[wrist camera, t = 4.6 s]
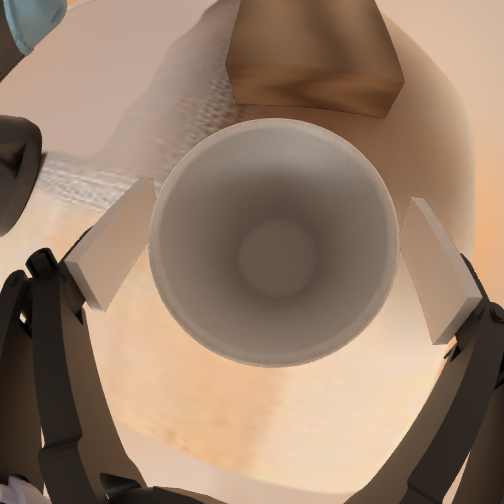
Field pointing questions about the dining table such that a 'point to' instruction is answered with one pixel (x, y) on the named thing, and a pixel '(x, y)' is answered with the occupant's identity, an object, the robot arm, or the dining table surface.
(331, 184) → the dixie cup
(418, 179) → the dining table surface
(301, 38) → the walnut block
